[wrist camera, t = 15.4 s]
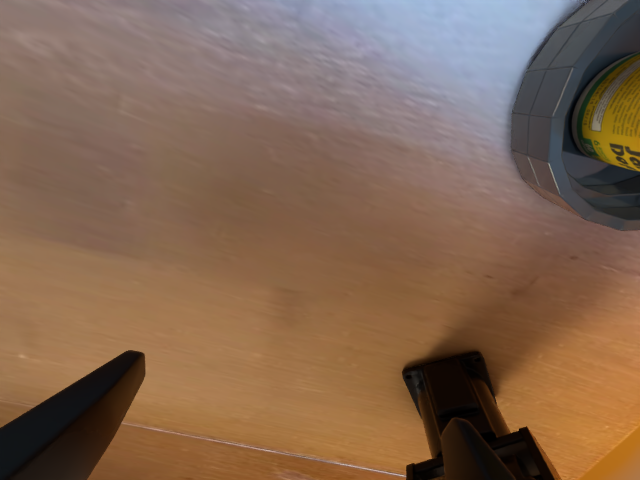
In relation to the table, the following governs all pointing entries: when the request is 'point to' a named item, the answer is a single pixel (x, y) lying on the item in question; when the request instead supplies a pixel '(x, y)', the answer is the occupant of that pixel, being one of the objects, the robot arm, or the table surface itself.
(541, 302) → the table surface
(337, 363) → the table surface
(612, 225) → the dark gray round dish
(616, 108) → the supplement bottle
